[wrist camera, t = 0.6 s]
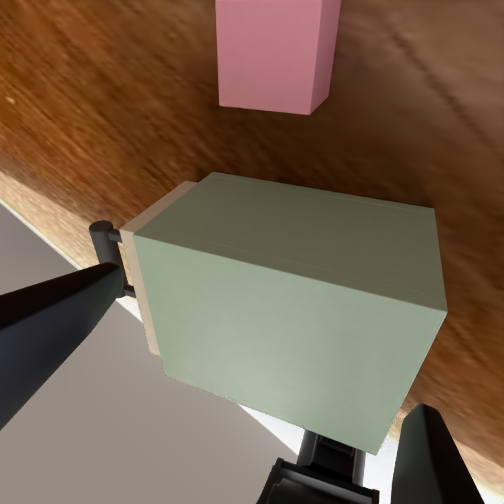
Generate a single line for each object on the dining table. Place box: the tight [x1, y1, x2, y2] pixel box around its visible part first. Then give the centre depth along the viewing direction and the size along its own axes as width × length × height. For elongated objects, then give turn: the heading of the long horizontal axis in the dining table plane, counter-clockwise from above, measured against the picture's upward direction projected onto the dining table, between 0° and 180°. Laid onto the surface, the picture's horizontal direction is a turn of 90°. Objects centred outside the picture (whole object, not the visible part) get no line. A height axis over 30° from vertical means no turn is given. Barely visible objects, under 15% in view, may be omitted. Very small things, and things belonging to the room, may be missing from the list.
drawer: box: [89, 181, 198, 356], centre depth 22 cm, size 18×10×7 cm, turn 90°
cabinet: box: [133, 172, 448, 455], centre depth 21 cm, size 14×12×9 cm
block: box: [215, 0, 341, 115], centre depth 16 cm, size 4×4×4 cm
